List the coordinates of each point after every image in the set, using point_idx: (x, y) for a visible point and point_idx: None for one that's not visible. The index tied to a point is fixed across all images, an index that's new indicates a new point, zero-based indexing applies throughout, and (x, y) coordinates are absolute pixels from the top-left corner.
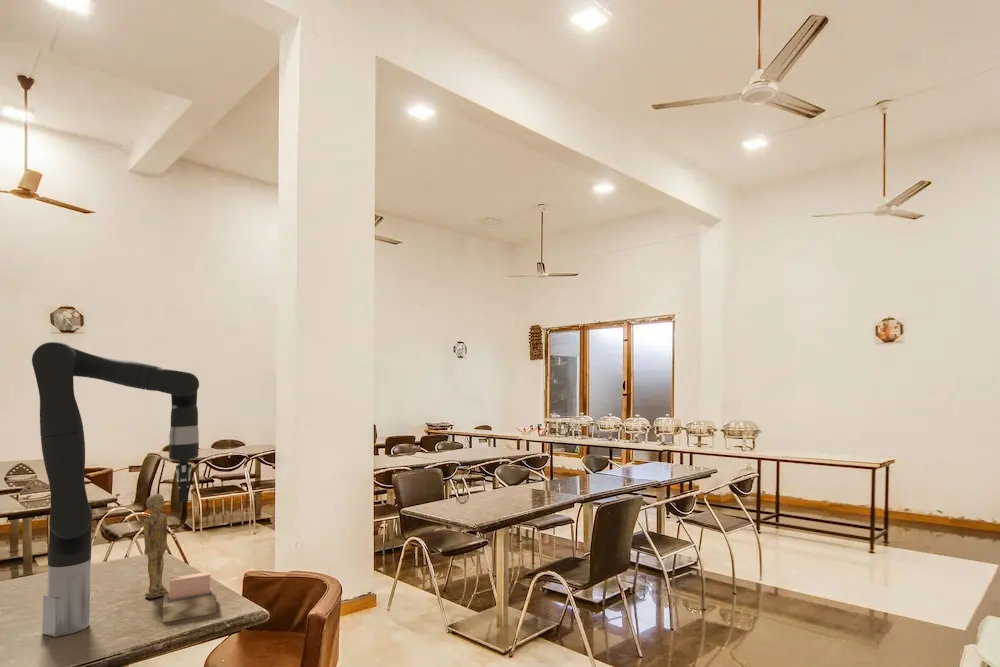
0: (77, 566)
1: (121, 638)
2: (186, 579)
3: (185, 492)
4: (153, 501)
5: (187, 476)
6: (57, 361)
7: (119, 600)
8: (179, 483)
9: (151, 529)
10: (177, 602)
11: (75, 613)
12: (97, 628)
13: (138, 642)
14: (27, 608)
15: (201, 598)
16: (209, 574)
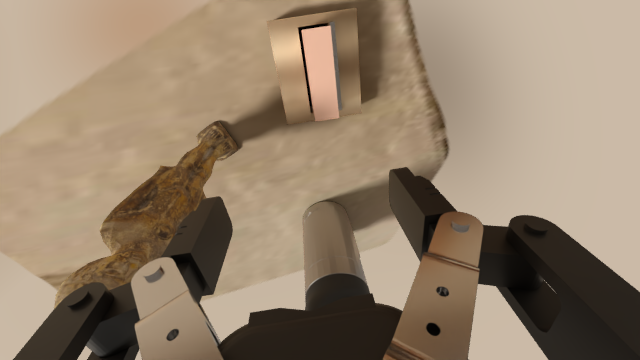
0: (362, 277)
1: (392, 150)
2: (335, 83)
3: (446, 205)
4: None
5: (636, 302)
6: None
7: (225, 191)
8: (544, 289)
9: (177, 228)
10: (348, 90)
11: (348, 224)
12: (338, 188)
13: (420, 125)
14: (230, 278)
15: (345, 43)
16: (326, 27)
